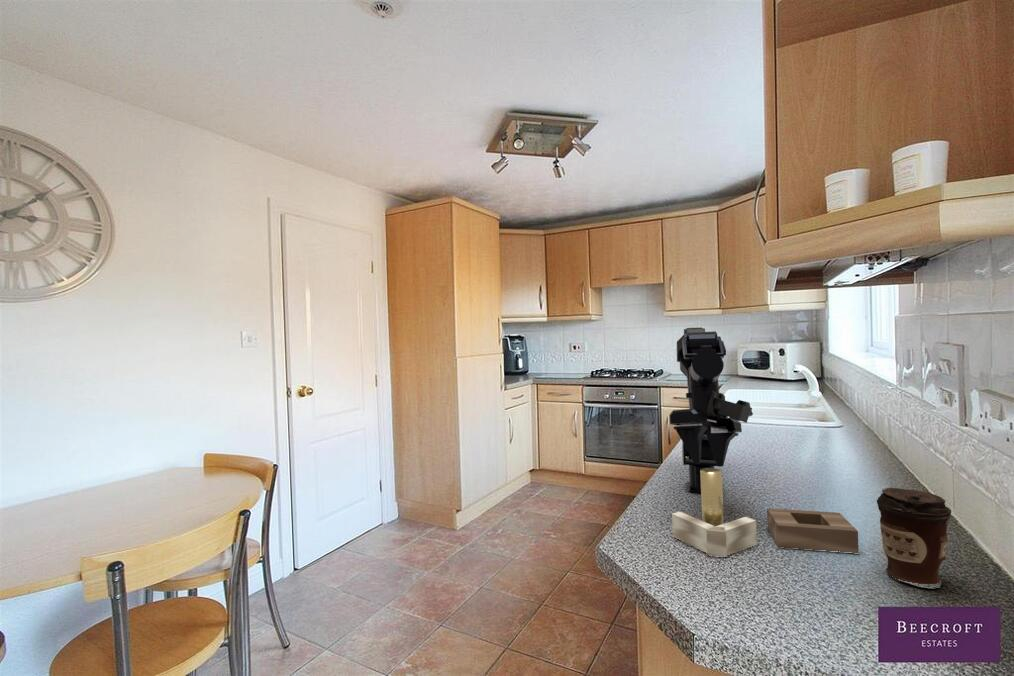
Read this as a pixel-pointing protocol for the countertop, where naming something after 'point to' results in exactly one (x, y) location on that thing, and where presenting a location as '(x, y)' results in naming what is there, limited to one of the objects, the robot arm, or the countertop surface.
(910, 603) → the countertop surface
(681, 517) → the v block
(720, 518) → the axle
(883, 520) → the coffee cup
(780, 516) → the bore block
